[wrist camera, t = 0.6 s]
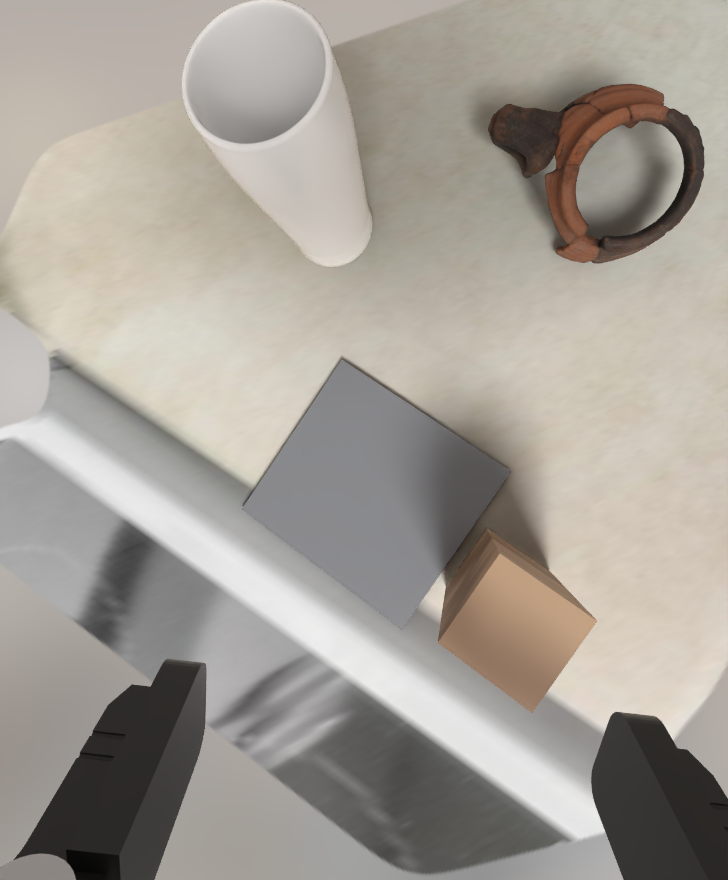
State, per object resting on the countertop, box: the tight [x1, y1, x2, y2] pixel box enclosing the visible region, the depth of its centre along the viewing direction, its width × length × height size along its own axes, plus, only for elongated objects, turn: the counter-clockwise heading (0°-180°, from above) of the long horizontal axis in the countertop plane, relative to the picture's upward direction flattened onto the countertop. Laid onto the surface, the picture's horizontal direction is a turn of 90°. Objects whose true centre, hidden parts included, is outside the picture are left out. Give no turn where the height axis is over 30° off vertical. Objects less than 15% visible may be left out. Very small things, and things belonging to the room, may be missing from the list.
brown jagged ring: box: [488, 84, 704, 263], centre depth 32 cm, size 12×10×8 cm
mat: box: [242, 360, 511, 629], centre depth 36 cm, size 12×13×1 cm
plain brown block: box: [438, 528, 597, 712], centre depth 28 cm, size 4×4×12 cm
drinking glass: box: [182, 0, 373, 267], centre depth 30 cm, size 7×7×15 cm
